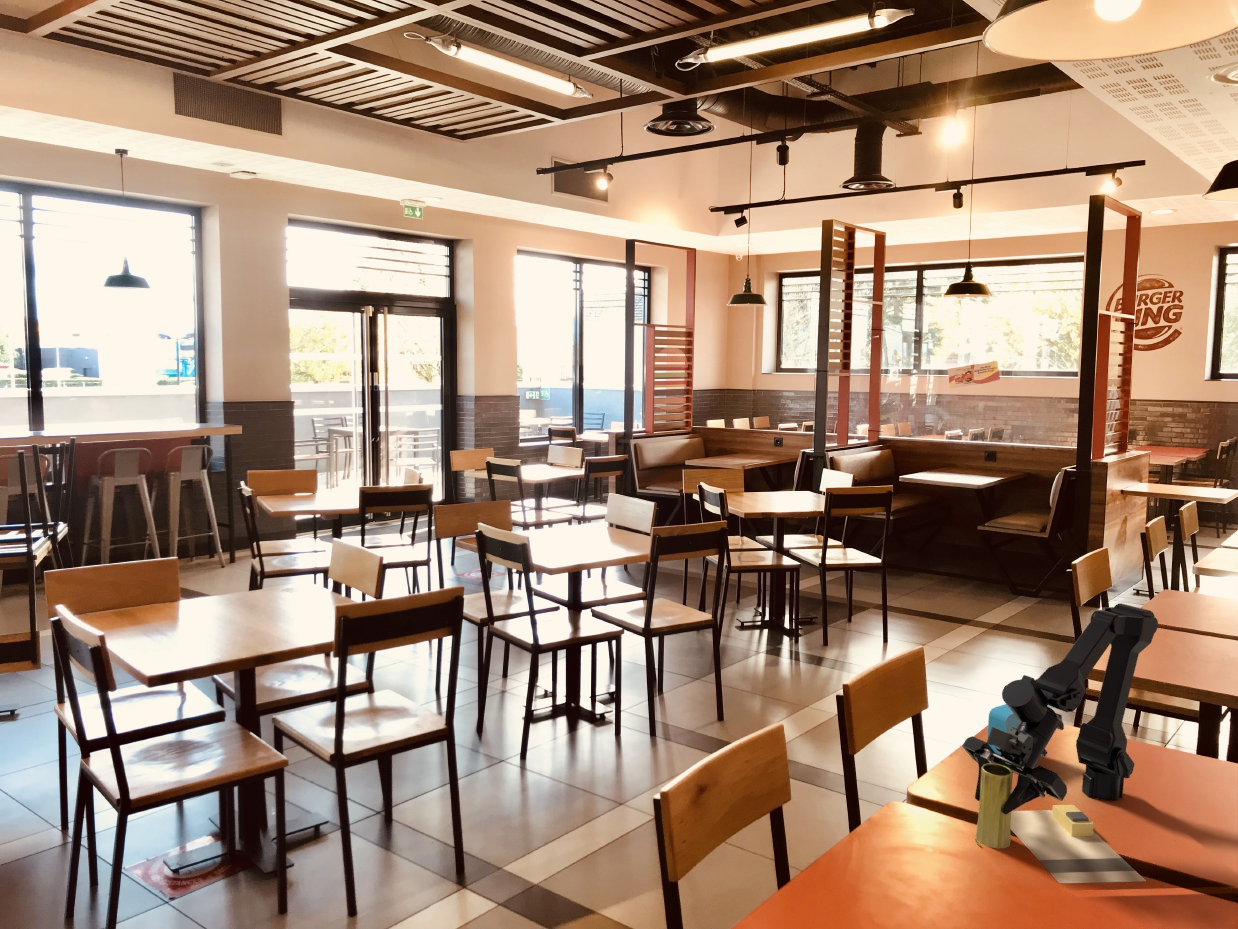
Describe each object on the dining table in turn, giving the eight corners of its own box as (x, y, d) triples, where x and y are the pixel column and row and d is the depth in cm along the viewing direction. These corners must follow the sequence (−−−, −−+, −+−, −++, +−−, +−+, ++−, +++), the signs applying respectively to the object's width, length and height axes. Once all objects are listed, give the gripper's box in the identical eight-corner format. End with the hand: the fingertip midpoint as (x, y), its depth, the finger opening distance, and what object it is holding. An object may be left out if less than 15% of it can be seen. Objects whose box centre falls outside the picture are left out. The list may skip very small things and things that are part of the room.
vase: (994, 856, 165) (999, 780, 163) (967, 839, 171) (971, 766, 169) (1018, 847, 168) (1023, 773, 166) (990, 831, 173) (995, 759, 172)
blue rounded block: (1020, 749, 209) (1024, 698, 207) (1038, 757, 205) (1042, 705, 203) (985, 761, 203) (988, 708, 201) (1003, 769, 199) (1006, 715, 197)
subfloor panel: (1070, 813, 180) (1070, 809, 180) (1145, 885, 156) (1146, 881, 156) (994, 815, 179) (994, 811, 179) (1059, 887, 156) (1059, 883, 156)
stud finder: (1052, 817, 177) (1053, 802, 177) (1072, 816, 178) (1073, 801, 177) (1071, 836, 170) (1072, 820, 170) (1092, 835, 171) (1093, 820, 170)
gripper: (971, 695, 176) (928, 763, 172) (1061, 730, 160) (1016, 806, 156) (996, 726, 181) (955, 793, 177) (1086, 763, 165) (1043, 838, 161)
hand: (989, 806), depth 168 cm, fingers closed on vase, 5 cm apart
